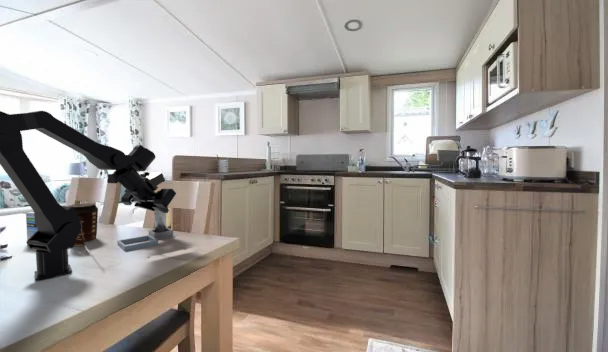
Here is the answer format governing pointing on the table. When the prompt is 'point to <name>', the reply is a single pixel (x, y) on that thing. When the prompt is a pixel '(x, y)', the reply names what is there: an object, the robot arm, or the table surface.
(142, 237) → the tray
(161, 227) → the stop pin
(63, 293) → the table surface
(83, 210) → the coffee cup
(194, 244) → the table surface
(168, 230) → the square socket base
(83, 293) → the table surface
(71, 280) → the table surface
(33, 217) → the light bulb box
